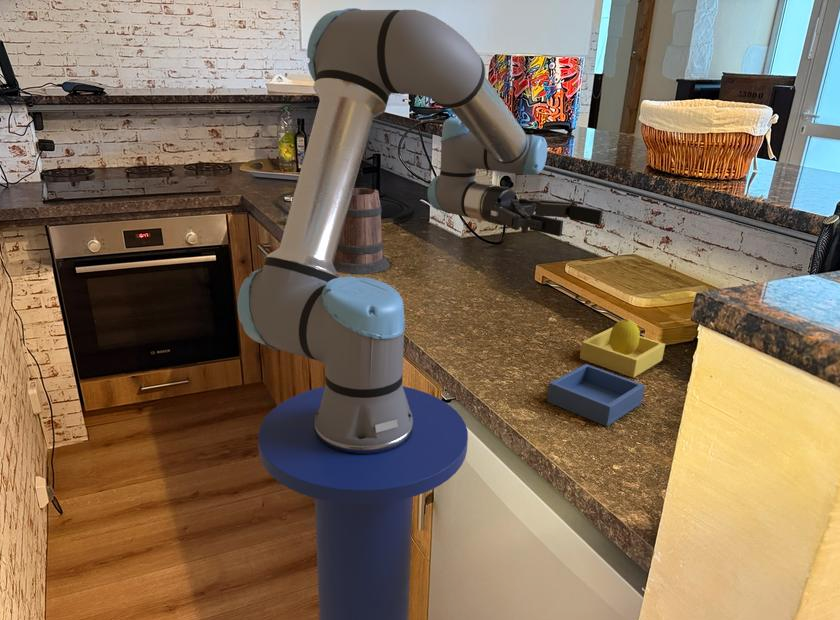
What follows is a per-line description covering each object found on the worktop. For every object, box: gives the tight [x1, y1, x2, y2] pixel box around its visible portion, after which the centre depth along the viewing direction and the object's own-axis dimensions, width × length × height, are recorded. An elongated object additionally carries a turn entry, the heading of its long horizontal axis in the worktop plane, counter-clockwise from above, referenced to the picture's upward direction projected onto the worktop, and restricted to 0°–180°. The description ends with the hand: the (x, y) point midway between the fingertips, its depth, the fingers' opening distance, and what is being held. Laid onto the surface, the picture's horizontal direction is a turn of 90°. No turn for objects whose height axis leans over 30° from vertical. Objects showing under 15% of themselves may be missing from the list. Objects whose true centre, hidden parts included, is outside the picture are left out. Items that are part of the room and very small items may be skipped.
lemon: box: [610, 317, 641, 355], centre depth 132 cm, size 6×6×8 cm
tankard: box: [333, 187, 391, 275], centre depth 185 cm, size 24×17×20 cm
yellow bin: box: [579, 326, 666, 379], centre depth 133 cm, size 12×12×4 cm
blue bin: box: [546, 363, 646, 427], centre depth 116 cm, size 12×12×4 cm
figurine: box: [282, 205, 291, 223], centre depth 225 cm, size 5×4×6 cm
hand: (582, 223), depth 126 cm, fingers open, 13 cm apart
